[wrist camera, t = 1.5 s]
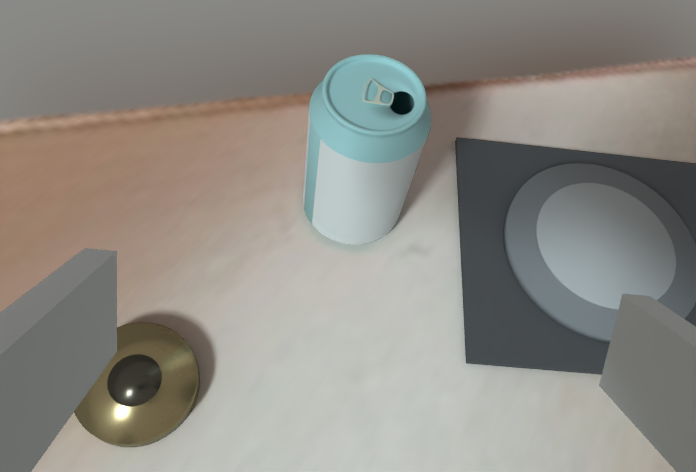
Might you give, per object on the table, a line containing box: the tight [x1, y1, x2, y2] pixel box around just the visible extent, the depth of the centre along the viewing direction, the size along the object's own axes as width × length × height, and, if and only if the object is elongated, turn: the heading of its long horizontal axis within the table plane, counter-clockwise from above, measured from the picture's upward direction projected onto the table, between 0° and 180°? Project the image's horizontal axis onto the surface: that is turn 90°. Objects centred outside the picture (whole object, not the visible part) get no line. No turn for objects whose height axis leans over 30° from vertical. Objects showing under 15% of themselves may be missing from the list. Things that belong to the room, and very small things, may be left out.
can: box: [303, 54, 431, 244], centre depth 36 cm, size 7×7×12 cm
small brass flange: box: [74, 323, 200, 447], centre depth 33 cm, size 7×7×1 cm
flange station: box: [455, 138, 696, 374], centre depth 41 cm, size 20×18×2 cm
